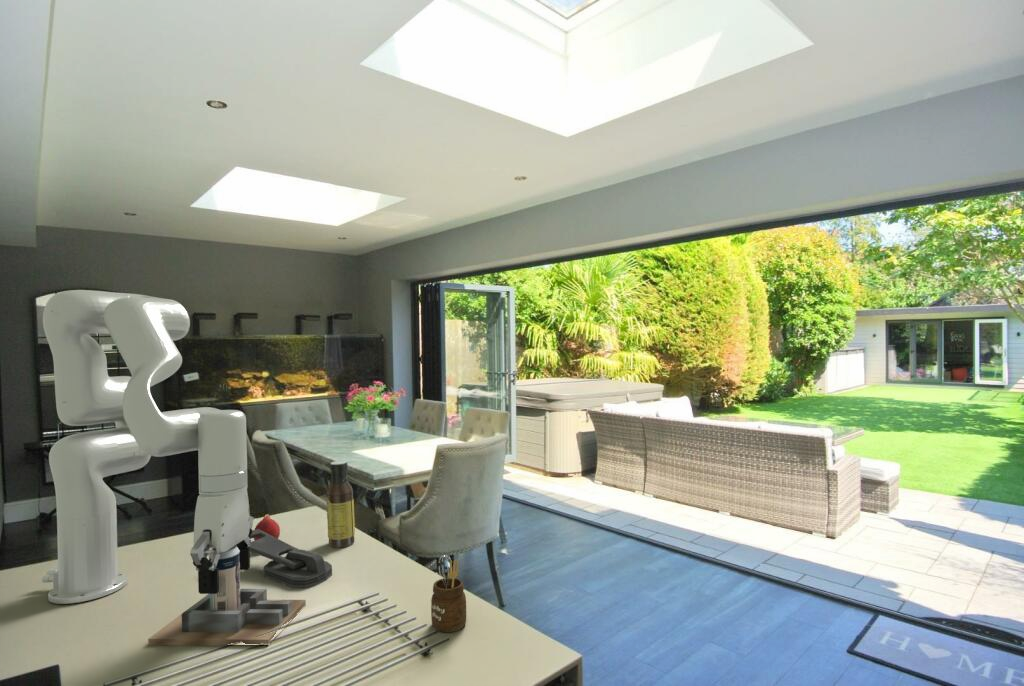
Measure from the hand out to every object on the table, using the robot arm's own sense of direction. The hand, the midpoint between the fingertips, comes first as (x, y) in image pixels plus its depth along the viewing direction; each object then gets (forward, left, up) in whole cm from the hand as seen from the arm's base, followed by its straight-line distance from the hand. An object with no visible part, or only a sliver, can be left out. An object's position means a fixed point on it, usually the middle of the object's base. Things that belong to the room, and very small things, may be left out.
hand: (225, 580), depth 97 cm
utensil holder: (+39, 0, -8) cm, 40 cm away
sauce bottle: (+6, +39, -8) cm, 40 cm away
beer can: (0, 0, -7) cm, 7 cm away
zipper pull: (-1, +22, -8) cm, 24 cm away
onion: (-11, +36, -8) cm, 38 cm away
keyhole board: (+1, 0, -7) cm, 8 cm away
